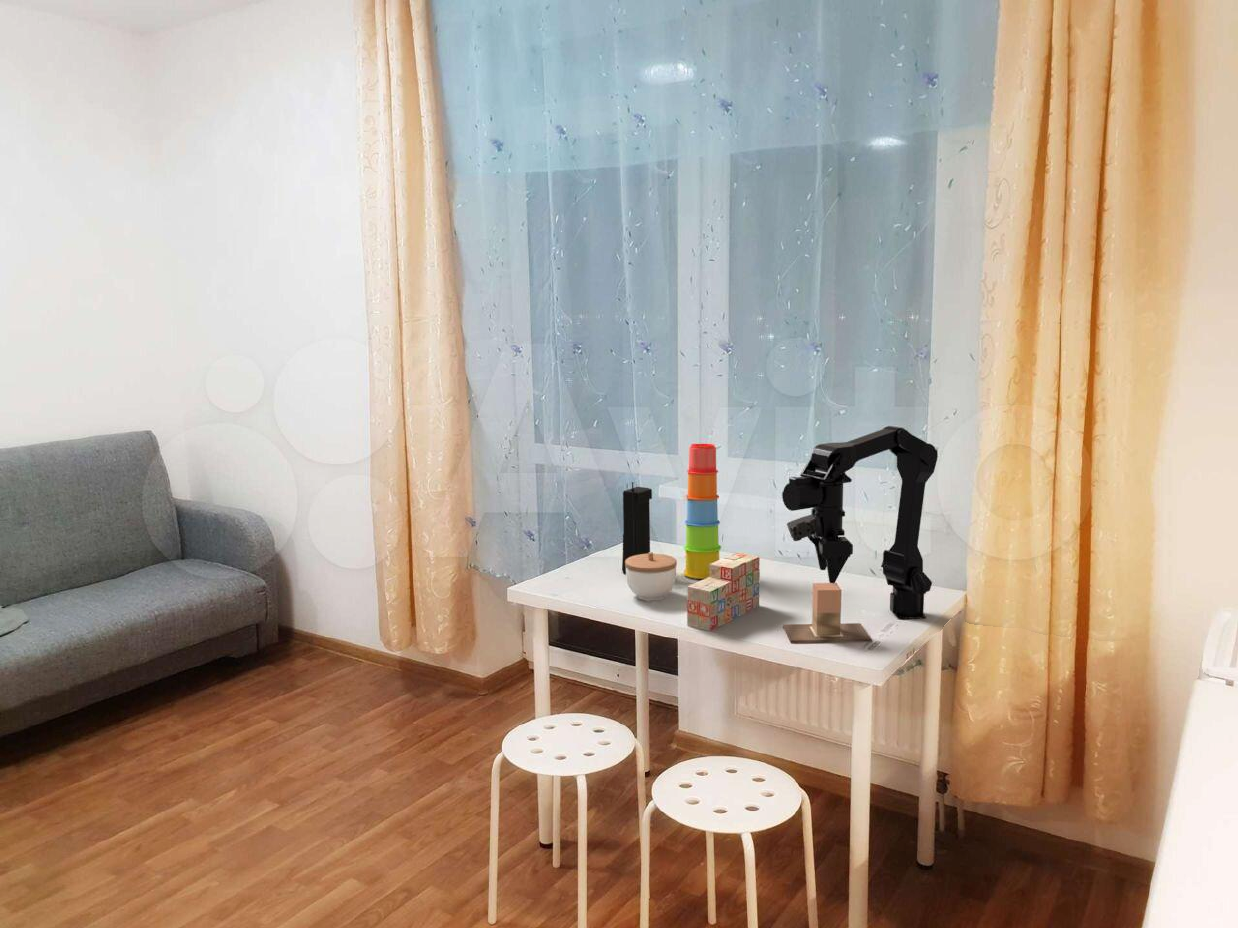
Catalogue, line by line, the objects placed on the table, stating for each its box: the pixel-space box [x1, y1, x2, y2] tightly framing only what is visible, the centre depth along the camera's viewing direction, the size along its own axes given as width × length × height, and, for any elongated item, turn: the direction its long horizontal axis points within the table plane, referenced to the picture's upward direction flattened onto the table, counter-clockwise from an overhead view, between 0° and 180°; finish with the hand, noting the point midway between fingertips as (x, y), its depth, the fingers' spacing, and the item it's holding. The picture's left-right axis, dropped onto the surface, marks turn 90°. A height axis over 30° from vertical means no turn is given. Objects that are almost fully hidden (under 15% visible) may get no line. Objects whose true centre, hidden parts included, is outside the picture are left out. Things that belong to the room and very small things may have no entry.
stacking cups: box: [683, 443, 722, 580], centre depth 238 cm, size 10×10×35 cm
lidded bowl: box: [625, 551, 678, 602], centre depth 224 cm, size 13×13×11 cm
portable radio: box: [621, 481, 653, 575], centre depth 243 cm, size 8×6×25 cm
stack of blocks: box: [686, 552, 761, 632], centre depth 209 cm, size 21×6×12 cm, turn 141°
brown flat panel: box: [782, 622, 873, 644], centre depth 197 cm, size 17×10×1 cm, turn 89°
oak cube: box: [811, 604, 842, 635], centre depth 197 cm, size 5×5×5 cm
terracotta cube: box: [812, 582, 842, 614], centre depth 196 cm, size 5×5×5 cm
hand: (827, 576), depth 195 cm, fingers open, 9 cm apart
